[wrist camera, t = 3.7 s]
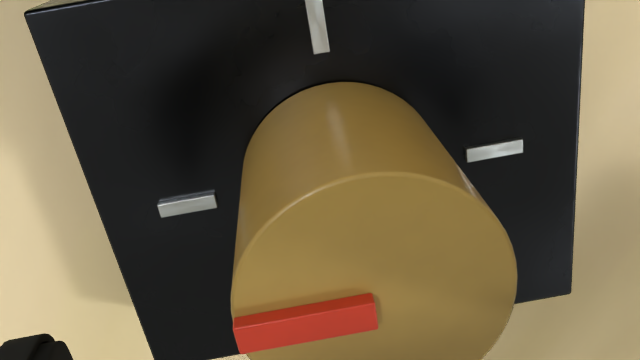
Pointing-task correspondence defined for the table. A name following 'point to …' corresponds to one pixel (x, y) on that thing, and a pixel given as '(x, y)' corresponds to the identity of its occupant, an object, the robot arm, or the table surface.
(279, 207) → the dial
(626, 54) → the table surface
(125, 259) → the dial plate
